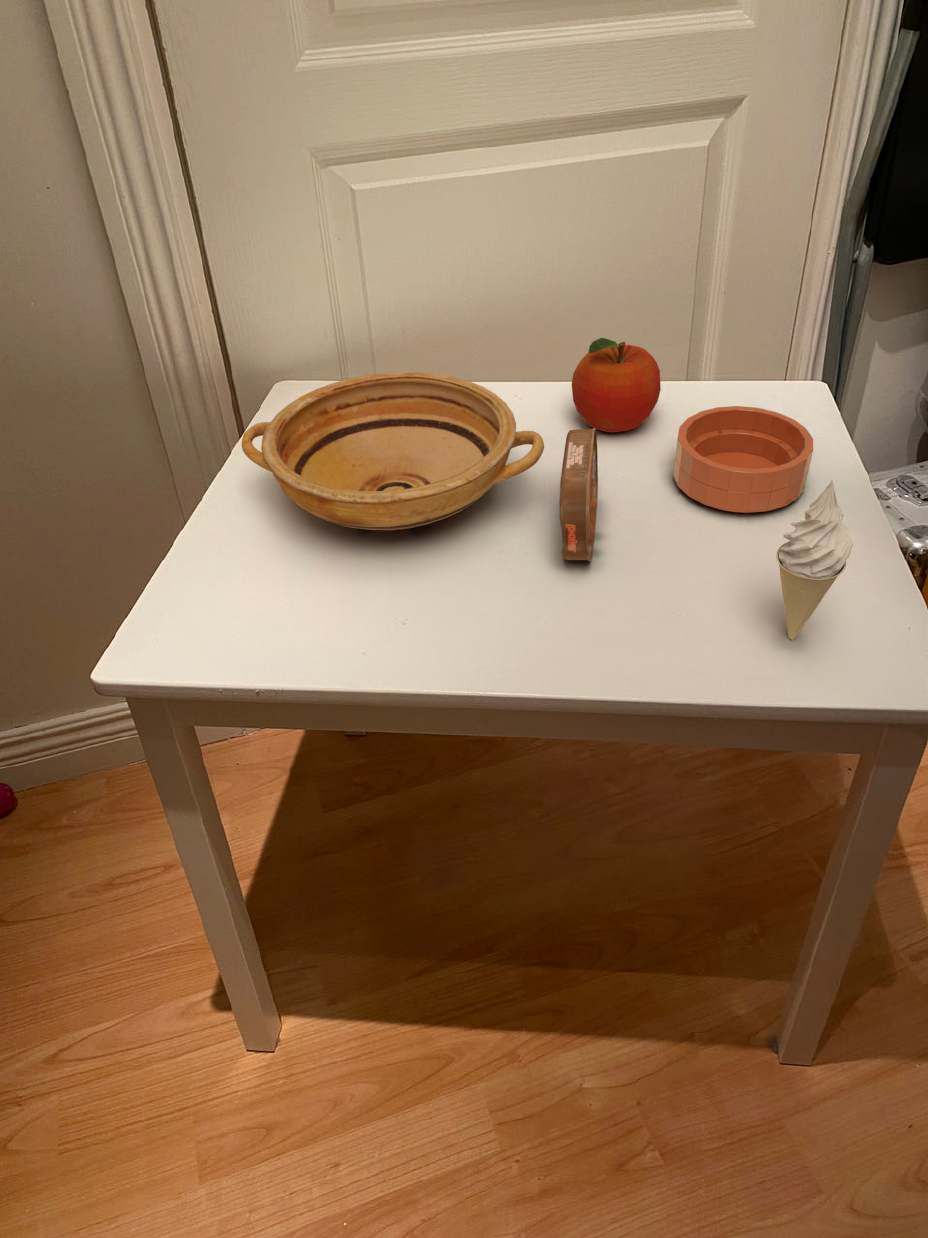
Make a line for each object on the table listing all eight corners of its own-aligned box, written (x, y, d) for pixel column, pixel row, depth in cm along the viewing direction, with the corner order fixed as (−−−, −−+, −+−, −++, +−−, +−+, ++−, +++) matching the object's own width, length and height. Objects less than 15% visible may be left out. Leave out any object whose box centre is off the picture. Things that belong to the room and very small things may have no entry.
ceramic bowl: (215, 563, 87) (195, 491, 82) (290, 432, 105) (277, 366, 100) (531, 581, 83) (531, 506, 78) (553, 442, 101) (554, 373, 96)
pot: (820, 468, 95) (830, 424, 91) (778, 531, 87) (788, 486, 84) (701, 438, 100) (707, 395, 97) (652, 495, 92) (657, 451, 89)
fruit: (674, 431, 101) (684, 344, 95) (596, 452, 99) (601, 364, 92) (630, 394, 108) (636, 310, 102) (555, 413, 106) (557, 328, 99)
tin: (590, 580, 83) (594, 500, 77) (554, 578, 83) (556, 498, 78) (599, 487, 94) (603, 411, 88) (567, 485, 94) (569, 410, 89)
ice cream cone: (832, 658, 74) (878, 499, 64) (767, 659, 74) (803, 501, 64) (815, 616, 78) (856, 460, 68) (753, 618, 78) (785, 462, 68)
